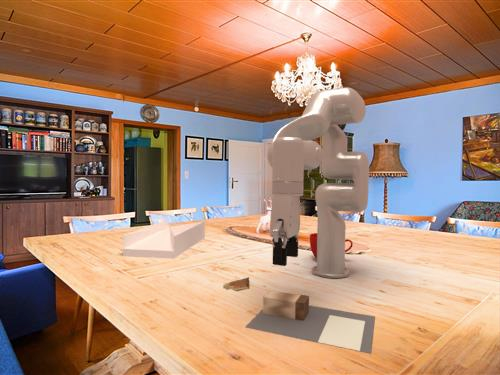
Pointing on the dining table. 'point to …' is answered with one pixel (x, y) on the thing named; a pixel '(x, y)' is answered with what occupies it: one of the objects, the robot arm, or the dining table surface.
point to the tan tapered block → (286, 305)
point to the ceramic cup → (314, 244)
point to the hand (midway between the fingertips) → (285, 260)
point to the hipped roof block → (162, 240)
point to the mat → (322, 328)
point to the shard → (238, 284)
